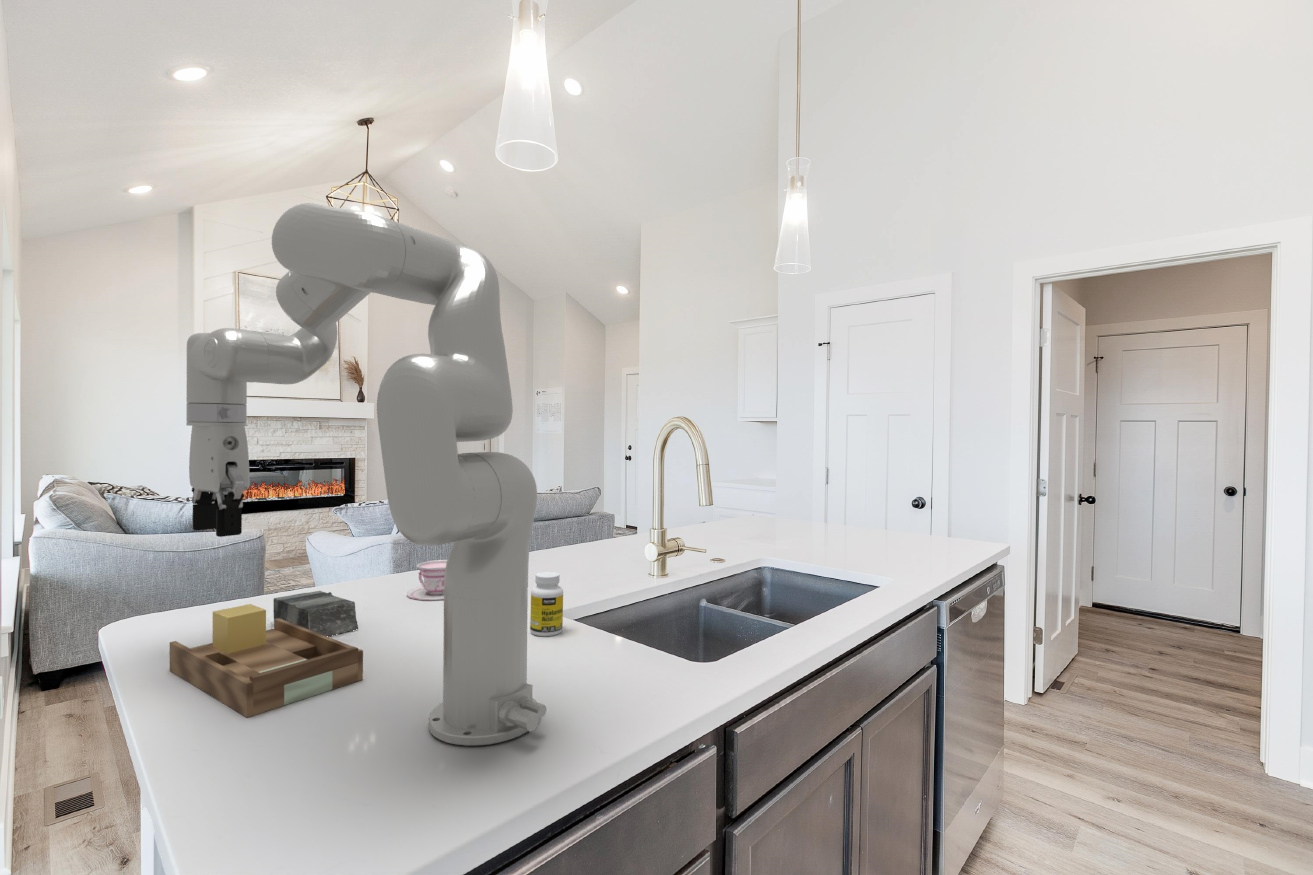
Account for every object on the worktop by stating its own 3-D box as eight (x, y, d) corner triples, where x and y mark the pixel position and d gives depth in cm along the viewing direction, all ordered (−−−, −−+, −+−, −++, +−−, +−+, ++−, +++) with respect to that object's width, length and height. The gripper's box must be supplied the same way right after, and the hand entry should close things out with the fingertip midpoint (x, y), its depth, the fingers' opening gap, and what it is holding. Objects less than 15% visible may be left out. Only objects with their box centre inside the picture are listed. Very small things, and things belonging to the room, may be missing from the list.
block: (265, 643, 94) (266, 609, 94) (227, 653, 90) (227, 617, 90) (250, 637, 97) (250, 603, 97) (212, 646, 93) (212, 611, 93)
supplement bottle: (540, 639, 106) (540, 579, 105) (524, 630, 110) (525, 573, 110) (568, 632, 109) (569, 574, 109) (552, 625, 113) (553, 569, 113)
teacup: (437, 584, 142) (437, 556, 141) (480, 590, 136) (480, 561, 136) (393, 596, 131) (393, 566, 131) (438, 604, 125) (438, 573, 125)
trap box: (362, 679, 88) (363, 646, 88) (246, 717, 76) (246, 679, 76) (278, 643, 102) (278, 614, 102) (169, 670, 90) (169, 638, 90)
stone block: (326, 614, 119) (326, 585, 119) (363, 631, 110) (363, 600, 110) (272, 624, 112) (273, 594, 112) (307, 643, 103) (308, 610, 103)
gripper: (270, 417, 96) (270, 535, 96) (220, 416, 106) (220, 523, 106) (212, 416, 90) (212, 542, 90) (165, 415, 100) (165, 529, 100)
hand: (216, 531), depth 98 cm, fingers open, 7 cm apart
